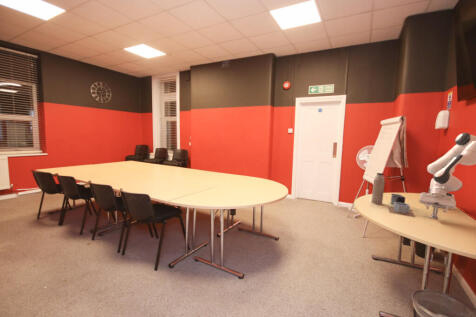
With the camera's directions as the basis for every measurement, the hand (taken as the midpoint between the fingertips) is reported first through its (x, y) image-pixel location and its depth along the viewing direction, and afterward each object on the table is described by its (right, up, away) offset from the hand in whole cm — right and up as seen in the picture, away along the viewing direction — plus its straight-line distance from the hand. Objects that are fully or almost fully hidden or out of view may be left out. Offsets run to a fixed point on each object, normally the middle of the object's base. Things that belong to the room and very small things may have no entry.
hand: (435, 210), depth 163 cm
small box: (-8, -4, +28) cm, 30 cm away
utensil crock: (-16, -4, +13) cm, 21 cm away
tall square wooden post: (0, -7, +1) cm, 8 cm away
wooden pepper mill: (-23, -3, +33) cm, 40 cm away
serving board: (-16, -5, +13) cm, 22 cm away
